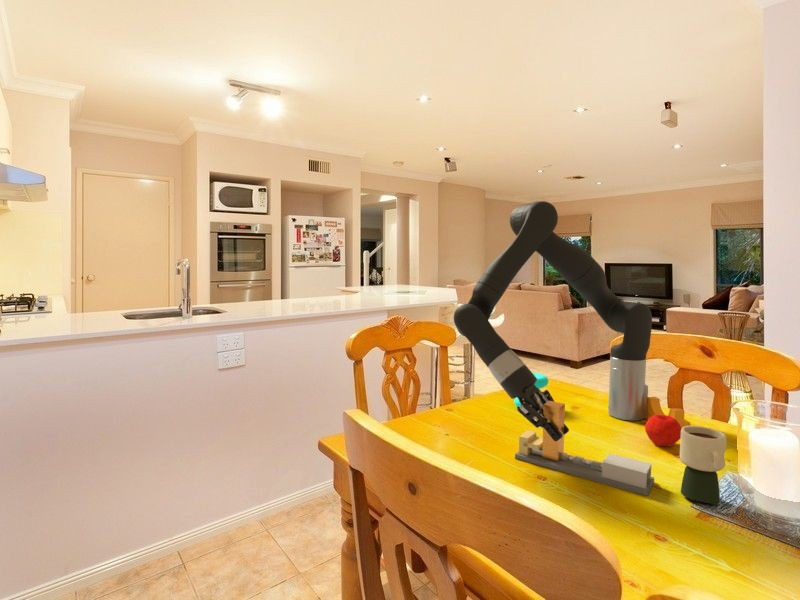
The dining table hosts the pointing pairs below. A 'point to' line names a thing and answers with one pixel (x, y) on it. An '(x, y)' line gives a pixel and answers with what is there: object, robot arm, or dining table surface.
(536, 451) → the orange-brown upright block
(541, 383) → the donuts
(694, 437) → the mug on green stand
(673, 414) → the pipe clamp
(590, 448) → the dining table surface
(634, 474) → the board
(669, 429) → the apple
